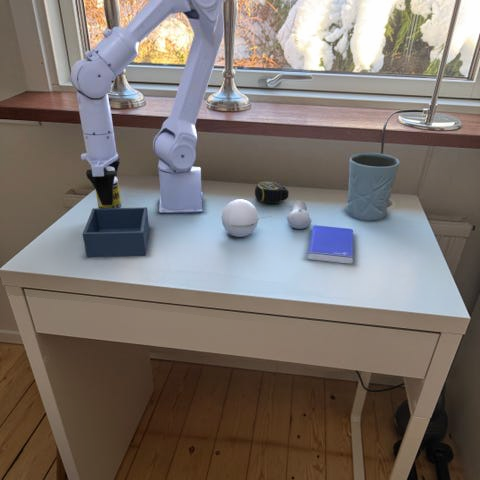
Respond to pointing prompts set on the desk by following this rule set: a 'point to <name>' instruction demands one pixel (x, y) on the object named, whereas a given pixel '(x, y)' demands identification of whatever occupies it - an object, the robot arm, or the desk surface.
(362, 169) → the embossed planter pot
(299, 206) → the pale two-lobed sculpture
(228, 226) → the seamed sphere
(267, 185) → the tape measure
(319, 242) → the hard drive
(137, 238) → the desk bin
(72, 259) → the desk surface
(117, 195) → the supplement bottle
